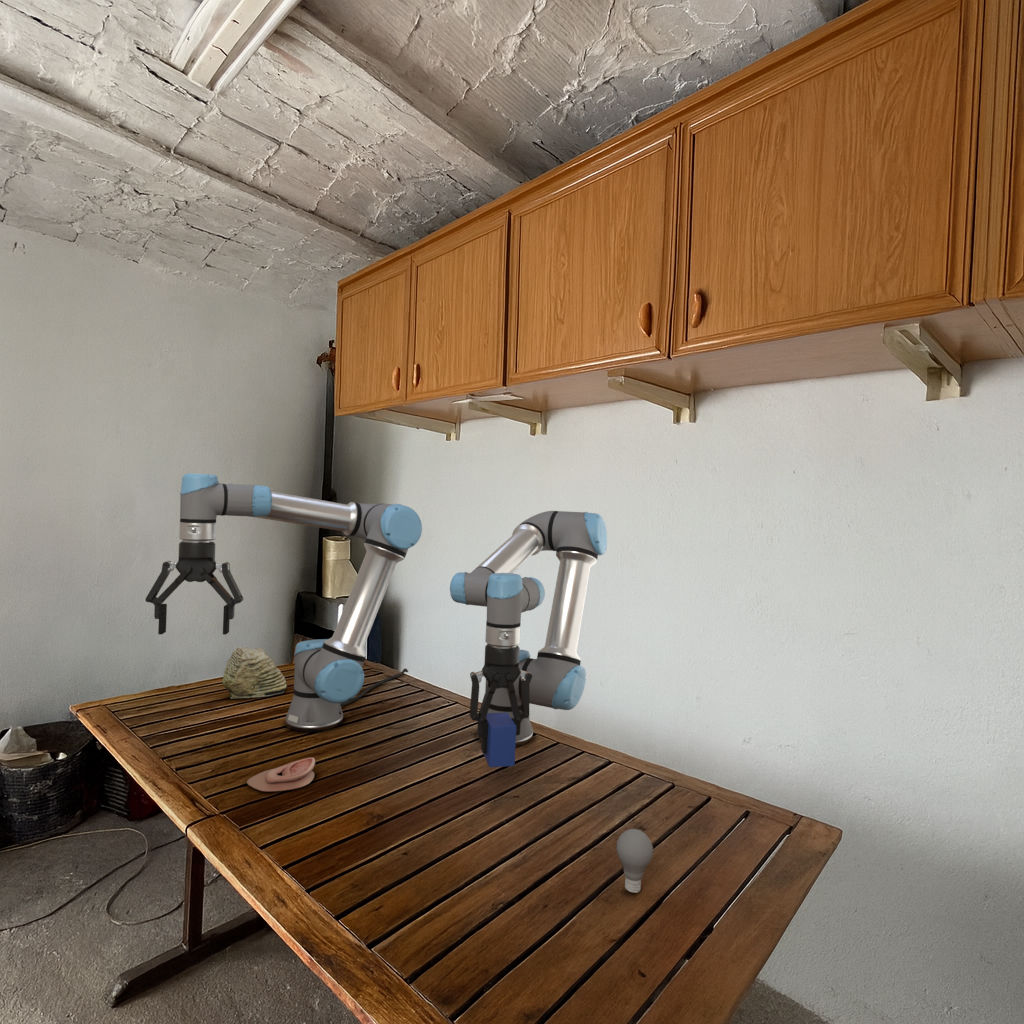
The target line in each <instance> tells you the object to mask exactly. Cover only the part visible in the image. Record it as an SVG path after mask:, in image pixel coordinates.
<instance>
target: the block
mask: <svg viewBox="0 0 1024 1024" xmlns="http://www.w3.org/2000/svg"><path fill="white" fill-rule="evenodd" d="M486 720H487V722H488V741H487V754H483V757H484V759H485V761H486V764H487V765H488V767H489V768H503V767H505V768H506V767H515V764H516V763H515V762H516V746H515V744H516V725H515V724H514V722H513V720H512V719H511V717H510V716H509V714H508V713H487V716H486ZM481 752H482V753H483V751H482V750H481Z"/></svg>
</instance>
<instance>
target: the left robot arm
mask: <svg viewBox="0 0 1024 1024" xmlns="http://www.w3.org/2000/svg"><path fill="white" fill-rule="evenodd" d="M179 494H180V495H179V496H180V500H179V503H180V504H179V505H180V506H179V531H178V532H179V536H178V538H179V540H181V541H180V542H179V543H178V560H177V562H173V561H171V560H166V561H163V562H162V564H161V565H162V566H161V571H160V573H159V574H158V577H157V578H156V580H155V581H154V583H153V585H152V587H151V588H150V590H149V592H148V594H147V595H146V597H145V602H146V603H150V604H153V606H154V610H153V611H154V614H153V617H154V620H158V627H157V628H158V630H157V633H158V635H163V634H165V633H167V614H168V613H167V611H168V604H167V603H165V601H166V600H167V599H168V598H169V597H170V596H171V595H172V593H174V591H176V589H178V588H179V586H181V584H183V582H184V581H186V582H187V583H193V582H196V583H204V582H207V584H208V585H210V586H211V587H212V589H213V590H214V591H215V592H216V593H217V594H218V595H219V597H220V598H221V599H222V600H223V601H224V602H225V603H226V604H225V605H223V614H222V616H223V618H222V619H223V620H222V635H227V634H229V633H230V620H233V619H234V618H235V611H236V609H235V608H236V605H238V604H241V602H243V601H244V597H243V594H242V592H241V589H240V588H239V586H238V584H237V582H236V580H235V577H234V576H233V574H232V572H231V566H230V565H231V564H230V562H228V561H226V562H223V563H222V562H221V563H217V562H216V543H215V542H214V541H215V540H216V539H217V516H220V517H221V516H222V517H223V516H228V517H229V516H230V517H249V518H256V519H263V520H269V521H274V522H275V521H276V522H281V523H289V524H295V525H302V526H306V527H307V526H308V527H313V528H319V529H320V528H321V529H327V530H332V531H340V532H342V533H343V534H344V535H345V536H349V537H355V538H358V539H361V540H364V543H363V546H364V548H365V550H366V552H365V556H364V558H363V560H362V563H361V565H360V567H359V570H358V573H357V575H356V577H355V580H354V582H353V585H352V587H351V590H350V592H349V595H348V597H347V600H346V603H345V604H344V607H343V610H342V613H341V615H340V616H339V621H338V622H337V625H336V627H335V629H334V632H333V634H332V636H331V637H330V638H323V639H322V638H320V639H307V640H303V641H299V642H297V644H296V645H295V650H294V651H295V652H294V653H293V654H294V655H293V656H294V672H293V673H294V674H293V695H292V696H293V697H292V699H291V702H290V704H289V708H288V711H287V713H286V715H285V726H286V728H287V729H289V730H291V731H294V732H295V731H296V732H301V733H316V732H325V731H329V730H332V729H335V728H337V727H339V726H340V725H342V723H343V722H344V713H343V709H342V707H344V706H347V705H349V704H352V703H353V702H355V701H357V700H359V699H360V698H362V697H363V696H365V695H366V693H368V692H370V691H371V690H373V689H374V688H376V687H378V686H380V685H381V684H384V683H386V682H389V681H391V680H394V679H396V678H398V677H402V675H404V674H405V673H409V669H408V668H403V669H402V671H400V672H399V673H397V674H394V675H391V676H389V677H386V678H384V679H381V680H379V681H377V682H376V683H374V684H372V685H370V686H369V687H367V688H366V689H364V691H362V692H361V693H360V691H361V690H362V688H363V686H364V682H365V673H364V669H363V667H364V663H365V662H366V661H365V660H366V658H367V653H366V651H365V645H366V643H367V640H368V637H369V635H370V632H371V630H372V628H373V625H374V622H375V619H376V617H377V614H378V613H379V609H380V606H381V604H382V601H383V599H384V597H385V595H386V591H387V589H388V587H389V584H390V582H391V579H392V576H393V574H394V571H395V568H396V567H397V564H398V563H399V562H402V561H404V560H405V559H406V557H407V554H408V551H409V549H410V548H413V547H414V546H416V545H417V543H418V542H419V541H420V539H421V537H422V533H423V524H422V520H421V518H420V516H419V514H418V513H417V512H416V510H414V509H413V508H412V507H410V506H407V505H403V504H400V503H361V502H354V501H350V502H349V503H347V504H345V503H341V502H334V501H328V500H322V499H318V498H313V497H306V496H301V495H296V494H295V495H294V494H290V493H283V492H279V491H272V490H271V488H270V487H269V486H267V485H258V484H238V483H237V484H236V483H235V484H234V483H221V482H219V478H218V476H217V475H216V474H207V473H185V474H184V475H183V476H182V478H181V487H180V492H179ZM175 569H176V570H177V572H178V573H179V575H178V576H177V577H176V578H175V579H174V580H173V581H172V582H171V584H169V586H168V587H167V588H165V590H164V591H162V593H161V594H160V595H159V596H158V594H159V593H160V591H161V589H162V588H163V586H164V585H165V583H166V580H167V579H168V578H169V575H170V574H171V572H173V571H174V570H175ZM216 570H218V571H219V572H220V573H221V574H222V577H223V578H224V581H225V582H226V584H227V587H228V588H229V591H230V592H229V591H228V590H227V589H226V588H225V587H224V585H223V584H221V582H220V581H219V580H218V577H216V576H215V574H214V572H216ZM230 593H231V594H230ZM157 596H158V597H157ZM400 673H401V674H400Z"/></svg>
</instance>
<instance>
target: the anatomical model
mask: <svg viewBox="0 0 1024 1024" xmlns="http://www.w3.org/2000/svg"><path fill="white" fill-rule="evenodd" d="M315 766H316V758H315V757H306V758H302V759H299V760H295V761H291V762H289V763H287V764H283V765H281V766H280V765H279V766H278V767H275V768H270V769H268V770H267V769H266V770H264V771H262V772H259V773H257V774H255V775H253V776H252V777H250V778H249V779H247V781H246V784H247V785H248V786H249V787H251V788H253V789H255V790H258V791H260V792H282V791H283V792H284V791H290V790H295V789H299V788H302V787H305V786H307V785H309V784H310V783H311V782H312V781H313V780H314V778H315V772H314V771H313V769H314V767H315Z"/></svg>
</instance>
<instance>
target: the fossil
mask: <svg viewBox="0 0 1024 1024" xmlns="http://www.w3.org/2000/svg"><path fill="white" fill-rule="evenodd" d="M222 676H223V677H222V685H223V687H224V688H225V690H226V691H228V693H229V698H230V699H250V698H264V697H271V696H275V695H281V694H284V693H285V691H286V689H287V687H288V686H287V680H286V678H285V676H284V674H283V673H282V672H281V669H279V668H278V667H277V665H276V663H275V662H274V660H273V659H272V658H271V657H270V656H269V655H268V654H267V653H266V652H265V650H264V649H263V648H260V647H258V648H251V647H247V646H246V647H245V646H238V647H237V648H236V649H235V650H233V651H232V653H231V656H230V657H229V659H228V660H227V663H226V666H225V668H224V671H223V675H222Z"/></svg>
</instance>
